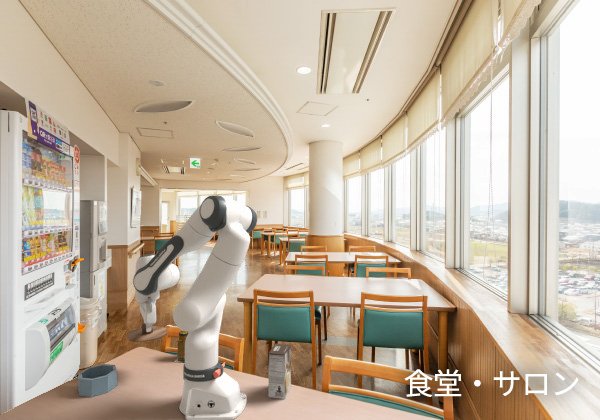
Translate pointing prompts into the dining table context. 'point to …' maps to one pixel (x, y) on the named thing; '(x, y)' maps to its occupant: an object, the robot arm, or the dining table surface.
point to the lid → (146, 334)
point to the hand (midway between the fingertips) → (147, 329)
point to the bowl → (97, 380)
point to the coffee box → (279, 370)
